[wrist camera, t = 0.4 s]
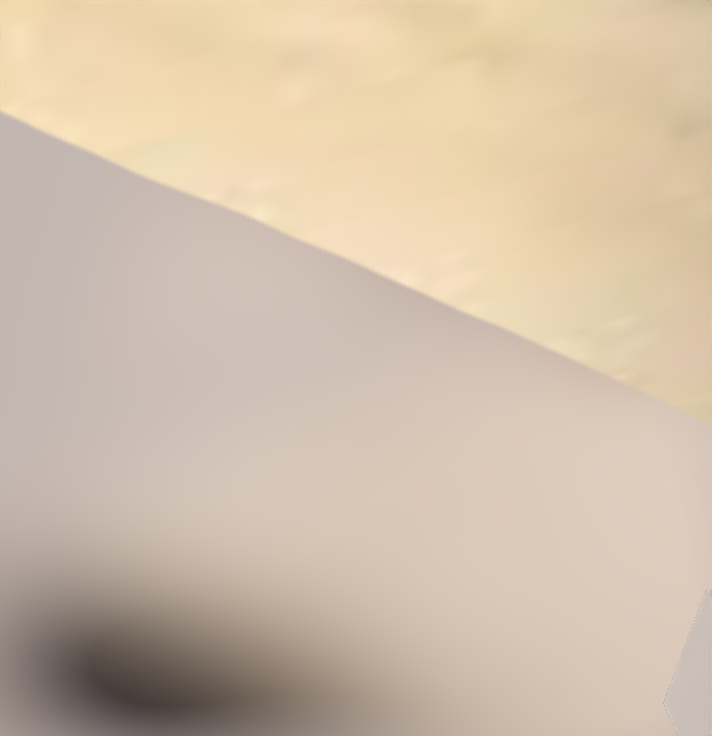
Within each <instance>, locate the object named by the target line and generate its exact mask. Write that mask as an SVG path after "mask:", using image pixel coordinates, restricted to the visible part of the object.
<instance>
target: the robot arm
mask: <svg viewBox="0 0 712 736" xmlns="http://www.w3.org/2000/svg"><path fill="white" fill-rule="evenodd" d="M663 704H664V706H665V709H666V711H667V713H668V715H669V717H670V720H671V722H672V724H673V726H674V729H675V731H676V733H677V735H678V736H712V591H710V590H706V592H705V594H704V597H703V599H702V602H701V605H700V607H699V610H698V613H697V615H696V618H695V620H694V623H693V626H692V628H691V631H690V634H689V636H688V639H687V642H686V644H685V647H684V649H683V652H682V655H681V657H680V660H679V663H678V666H677V668H676V671H675V673H674V676H673V678H672V681H671V684H670V686H669V689H668V692H667V694H666V697H665V699H664V702H663Z"/></svg>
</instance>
